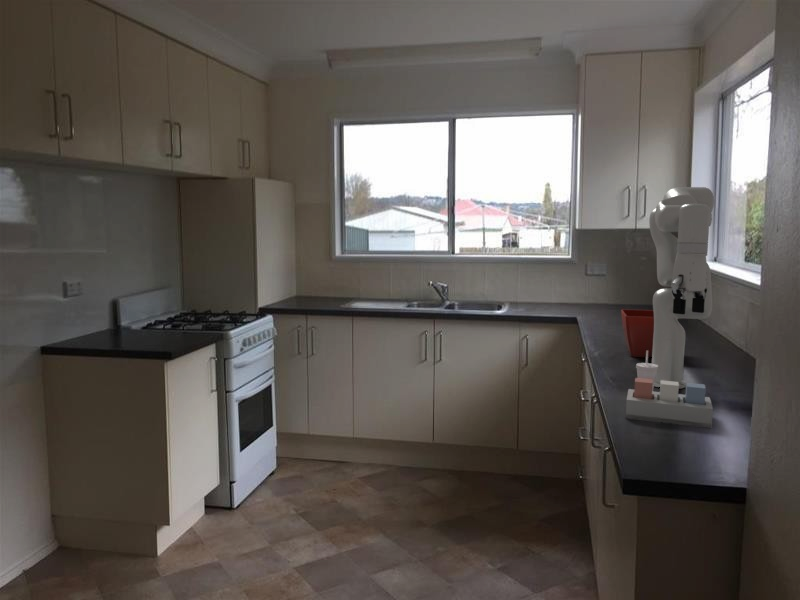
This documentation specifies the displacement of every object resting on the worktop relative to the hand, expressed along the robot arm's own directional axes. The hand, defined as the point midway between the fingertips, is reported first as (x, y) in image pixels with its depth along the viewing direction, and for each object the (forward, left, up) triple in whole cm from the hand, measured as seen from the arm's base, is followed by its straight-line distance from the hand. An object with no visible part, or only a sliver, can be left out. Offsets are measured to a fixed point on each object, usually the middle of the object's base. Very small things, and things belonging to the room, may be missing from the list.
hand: (688, 313), depth 175 cm
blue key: (+5, +3, -23) cm, 24 cm away
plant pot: (-81, -11, -28) cm, 86 cm away
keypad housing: (+5, -4, -28) cm, 29 cm away
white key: (+5, -4, -23) cm, 24 cm away
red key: (+5, -10, -23) cm, 26 cm away
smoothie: (-15, -10, -28) cm, 34 cm away
